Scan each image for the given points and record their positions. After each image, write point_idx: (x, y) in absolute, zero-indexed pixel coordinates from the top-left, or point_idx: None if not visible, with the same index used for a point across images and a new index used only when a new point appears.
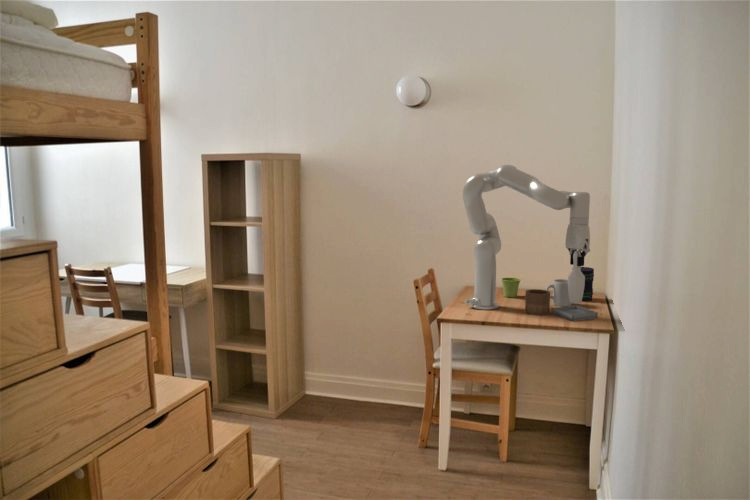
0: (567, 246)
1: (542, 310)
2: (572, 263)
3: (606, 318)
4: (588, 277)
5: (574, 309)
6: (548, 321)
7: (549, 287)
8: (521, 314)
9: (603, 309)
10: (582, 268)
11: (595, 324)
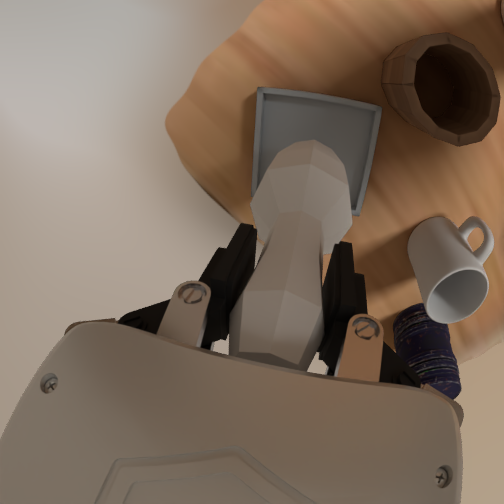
0: (407, 397)
1: (386, 62)
2: (333, 256)
3: (240, 209)
4: None
5: (350, 193)
6: (299, 15)
7: (484, 239)
8: (421, 17)
9: None
10: None
11: (201, 125)
